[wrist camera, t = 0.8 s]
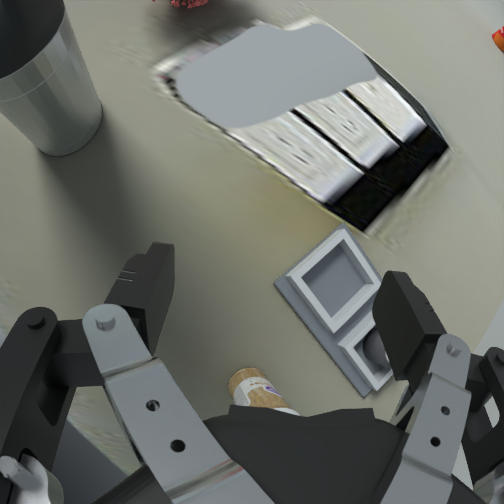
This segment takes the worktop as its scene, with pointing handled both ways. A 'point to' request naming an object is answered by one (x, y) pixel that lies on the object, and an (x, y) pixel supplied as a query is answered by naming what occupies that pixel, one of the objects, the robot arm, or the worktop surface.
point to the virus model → (197, 3)
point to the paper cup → (499, 38)
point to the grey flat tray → (340, 306)
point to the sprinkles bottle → (256, 391)
